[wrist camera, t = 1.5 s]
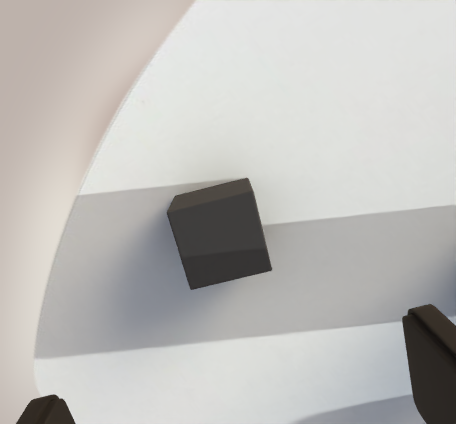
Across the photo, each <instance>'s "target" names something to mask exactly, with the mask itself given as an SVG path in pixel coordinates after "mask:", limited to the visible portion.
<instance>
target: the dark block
mask: <svg viewBox="0 0 456 424" xmlns="http://www.w3.org/2000/svg"><path fill="white" fill-rule="evenodd" d="M167 215H168V218H169V221H170V225H171V228H172V231H173V234H174V238H175V241H176V244H177V247H178V251H179V254H180V257H181V260H182V264H183V267H184V270H185V273H186V277H187V280H188V283H189V286H190V289H191V290H193V289H197V288H201V287H205V286H209V285H214V284H218V283H222V282H226V281H230V280H234V279H239V278H243V277H247V276H251V275H255V274H260V273H264V272H268V271H271V270H272V267H271V263H270V259H269V255H268V250H267V246H266V242H265V238H264V234H263V229H262V225H261V221H260V217H259V212H258V208H257V204H256V200H255V196H254V191H253V189H252V187H251V184H250V182H249V179H248V178H245V179H241V180H237V181H233V182H229V183H225V184H221V185H217V186H213V187H209V188H205V189H201V190H197V191H193V192H189V193H185V194H181V195H177V196H175V197H174V199H173V201H172V203H171V205H170V207H169V209H168V211H167Z"/></svg>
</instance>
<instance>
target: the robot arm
mask: <svg viewBox="0 0 456 424" xmlns="http://www.w3.org/2000/svg"><path fill="white" fill-rule="evenodd" d="M402 322H403V329H404V336H405V343H406V350H407V357H408V364H409V371H410V378H411V385H412V392H413V398H414V402H415V405H416V407H417V409H418V411H419V413H420V415H421V416H422V418H423V419H424V421H425V422H426V424H456V325H454V324H453V323H452V322H451V321H450V320H449V319H448V318H447V317H446V316H445V315H443V314H442V313H441V312H440V311H439V310H438V309H437V308H436V307H435V306H433V305H432V304H428V305H424V306H420V307H416V308H412V309H409V310H408V315H407V316H404V317H403V318H402ZM16 424H75V422H74V419H73V417H72V415H71V413H70V411H69V409H68V406H67V404H66V402H65V401H64V400H63V399H59V398H58V396H56V395H49V396H45V397H41V398H37V399H33V400H31V401H30V403H29V404H28V405H27V407H26V409H25V411H24V412H23V414H22V415H21V417H20V418H19V420H18V422H17V423H16Z"/></svg>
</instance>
